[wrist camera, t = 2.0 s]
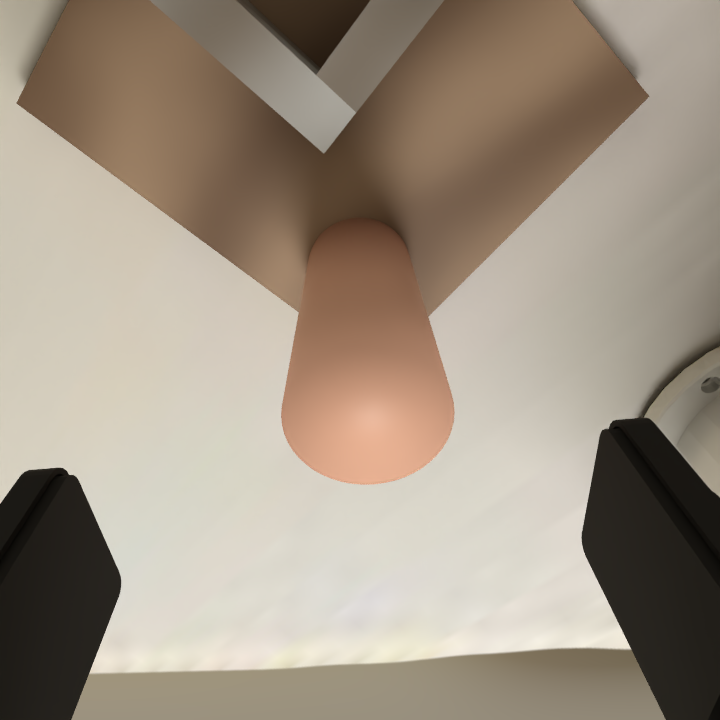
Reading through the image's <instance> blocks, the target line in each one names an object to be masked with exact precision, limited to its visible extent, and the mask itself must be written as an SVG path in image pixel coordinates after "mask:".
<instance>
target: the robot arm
mask: <svg viewBox="0 0 720 720" xmlns="http://www.w3.org/2000/svg"><path fill="white" fill-rule="evenodd" d="M582 545H583V549H584V553H585V555H586V558H587V560H588V562H589V564H590V566H591V568H592V570H593V572H594V574H595V576H596V578H597V580H598V582H599V584H600V586H601V588H602V590H603V592H604V594H605V596H606V598H607V600H608V602H609V604H610V606H611V609H612V611H613V613H614V615H615V617H616V619H617V621H618V623H619V625H620V627H621V629H622V631H623V633H624V635H625V637H626V639H627V641H628V643H629V645H630V647H631V649H632V651H633V653H634V655H635V657H636V660H637V662H638V663H639V666H640V668H641V670H642V672H643V674H644V676H645V678H646V680H647V682H648V684H649V686H650V688H651V690H652V692H653V694H654V696H655V698H656V700H657V702H658V704H659V706H660V709H661V711H662V712H663V715H664V717H665V719H666V720H720V346H719V347H718V348H716V349H714V350H712V351H710V352H708V353H707V354H705V355H704V356H703V357H701V358H700V359H698V360H697V361H695V362H694V363H693V364H691V365H690V366H688V367H687V368H686V369H684V370H683V371H682V372H681V373H680V374H679V375H678V376H677V377H676V378H675V379H674V380H673V381H672V382H670V383H669V384H668V385H667V386H666V387H665V388H664V389H663V391H662V392H661V393H660V394H659V396H658V397H657V398H656V400H655V401H654V402H653V403H652V405H651V406H650V407H649V409H648V411H647V412H646V414H645V416H644V418H635V419H623V420H615V421H613V422H612V423H611V424H610V427H609V429H605V430H602V432H601V434H600V438H599V444H598V449H597V454H596V460H595V465H594V471H593V476H592V482H591V487H590V492H589V498H588V503H587V509H586V514H585V520H584V525H583V531H582ZM120 590H121V576H120V573H119V571H118V568H117V566H116V564H115V562H114V559H113V557H112V555H111V553H110V550H109V548H108V546H107V544H106V541H105V539H104V537H103V535H102V532H101V530H100V528H99V526H98V523H97V521H96V519H95V516H94V514H93V512H92V510H91V507H90V505H89V503H88V501H87V498H86V496H85V494H84V492H83V489H82V487H81V485H80V483H79V480H78V479H77V477H75V476H74V475H69V474H68V472H67V471H66V470H65V469H63V468H50V469H38V470H28V471H26V472H24V473H23V474H22V475H21V476H20V477H19V479H18V480H17V481H16V483H15V484H14V486H13V487H12V488H11V490H10V491H9V493H8V494H7V495H6V497H5V498H4V500H3V501H2V502H1V504H0V720H71V719H72V716H73V714H74V711H75V708H76V706H77V703H78V701H79V698H80V695H81V693H82V690H83V688H84V685H85V683H86V680H87V677H88V675H89V672H90V670H91V667H92V664H93V662H94V659H95V657H96V654H97V652H98V649H99V646H100V644H101V641H102V639H103V636H104V633H105V631H106V628H107V626H108V623H109V620H110V618H111V615H112V613H113V610H114V608H115V605H116V602H117V600H118V597H119V594H120Z"/></svg>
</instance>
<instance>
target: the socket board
mask: <svg viewBox="0 0 720 720" xmlns="http://www.w3.org/2000/svg"><path fill="white" fill-rule="evenodd" d="M648 97H649V95H648V94H647V93H646V92H645V91H644V89H643V88H642V87H641V86H640V84H639V83H638V82H637V81H636V79H635V78H634V77H633V76H632V74H631V73H630V72H629V71H628V69H627V68H626V67H625V66H624V64H623V63H622V62H621V61H620V60H619V58H618V57H617V56H616V55H615V53H614V52H613V51H612V50H611V48H610V47H609V46H608V45H607V43H606V42H605V41H604V40H603V38H602V37H601V36H600V35H599V33H598V32H597V31H596V30H595V28H594V27H593V26H592V25H591V24H590V22H589V21H588V20H587V19H586V17H585V16H584V15H583V14H582V12H581V11H580V10H579V9H578V7H577V6H576V5H575V4H574V2H573V1H572V0H69V1H68V3H67V5H66V7H65V9H64V11H63V13H62V15H61V17H60V19H59V21H58V23H57V25H56V27H55V29H54V31H53V32H52V34H51V36H50V38H49V40H48V42H47V44H46V46H45V48H44V50H43V52H42V54H41V56H40V58H39V60H38V62H37V64H36V66H35V68H34V70H33V72H32V74H31V76H30V78H29V80H28V82H27V84H26V86H25V87H24V89H23V91H22V93H21V95H20V97H19V99H18V101H17V104H18V105H19V106H21V107H22V108H24V109H25V110H26V111H28V112H29V113H30V114H32V115H33V116H34V117H36V118H37V119H38V120H40V121H41V122H42V123H44V124H45V125H47V126H48V127H49V128H51V129H52V130H53V131H55V132H56V133H57V134H59V135H60V136H61V137H63V138H64V139H65V140H67V141H68V142H69V143H71V144H72V145H74V146H75V147H76V148H78V149H79V150H80V151H82V152H83V153H84V154H86V155H87V156H88V157H90V158H91V159H92V160H94V161H95V162H97V163H98V164H99V165H101V166H102V167H103V168H105V169H106V170H107V171H109V172H110V173H111V174H113V175H114V176H115V177H117V178H118V179H119V180H121V181H122V182H124V183H125V184H126V185H128V186H129V187H130V188H132V189H133V190H134V191H136V192H137V193H138V194H140V195H141V196H142V197H144V198H145V199H146V200H148V201H149V202H151V203H152V204H153V205H155V206H156V207H157V208H159V209H160V210H161V211H163V212H164V213H165V214H167V215H168V216H169V217H171V218H172V219H174V220H175V221H176V222H178V223H179V224H180V225H182V226H183V227H184V228H186V229H187V230H188V231H190V232H191V233H192V234H194V235H195V236H196V237H198V238H199V239H201V240H202V241H203V242H205V243H206V244H207V245H209V246H210V247H211V248H213V249H214V250H215V251H217V252H218V253H219V254H221V255H222V256H224V257H225V258H226V259H228V260H229V261H230V262H232V263H233V264H234V265H236V266H237V267H238V268H240V269H241V270H242V271H244V272H245V273H246V274H248V275H249V276H251V277H252V278H253V279H255V280H256V281H257V282H259V283H260V284H261V285H263V286H264V287H265V288H267V289H268V290H269V291H271V292H272V293H273V294H275V295H276V296H278V297H279V298H280V299H282V300H283V301H284V302H286V303H287V304H288V305H290V306H291V307H292V308H294V309H295V310H296V311H298V312H299V309H300V304H301V298H302V293H303V287H304V282H305V276H306V271H307V265H308V260H309V255H310V252H311V249H312V247H313V245H314V243H315V241H316V240H317V238H318V237H319V236H320V235H321V234H322V233H323V232H324V231H325V230H326V229H327V228H328V227H330V226H332V225H333V224H335V223H337V222H339V221H342V220H345V219H349V218H370V219H374V220H377V221H380V222H382V223H384V224H386V225H388V226H389V227H391V228H392V229H393V230H394V231H395V232H396V233H397V234H398V235H399V236H400V237H401V238H402V240H403V241H404V243H405V245H406V247H407V250H408V252H409V255H410V259H411V262H412V265H413V269H414V272H415V275H416V279H417V282H418V285H419V288H420V292H421V295H422V298H423V302H424V305H425V308H426V311H427V315H428V316H429V315H430V314H431V313H432V312H433V311H434V310H435V309H436V308H437V307H438V306H439V305H440V304H441V303H442V302H443V301H444V300H445V299H446V298H447V297H448V296H449V295H450V294H451V293H452V292H453V291H454V290H455V289H456V288H457V287H458V286H459V285H460V284H461V283H462V282H463V281H464V280H465V279H466V278H467V277H468V276H469V275H470V274H471V273H472V272H473V271H474V270H475V269H476V268H477V267H479V266H480V265H481V264H482V263H483V262H484V261H485V260H486V259H487V258H488V257H489V256H490V255H491V254H492V253H493V252H494V251H495V250H496V249H497V248H498V247H499V246H500V245H501V244H502V243H503V242H504V241H505V240H506V239H507V238H508V237H509V236H510V235H511V234H512V233H513V232H514V231H515V230H516V229H517V228H518V227H519V226H520V225H521V224H522V223H523V222H524V221H525V220H526V219H527V218H528V217H529V216H530V215H531V214H532V213H533V212H534V211H535V210H536V209H537V208H538V207H539V206H540V205H541V204H542V203H543V202H544V201H545V200H546V199H547V198H548V197H549V196H550V195H551V194H552V193H553V192H554V191H555V190H556V189H557V188H558V187H559V186H560V185H561V184H562V183H563V182H564V181H565V180H566V179H567V178H568V177H569V176H570V175H571V174H572V173H573V172H574V171H575V170H576V169H577V168H578V167H579V166H580V165H581V164H582V163H583V162H584V161H585V160H586V159H587V158H588V157H589V156H590V155H591V154H592V153H593V152H594V151H595V150H596V149H597V148H598V147H599V146H600V145H601V144H602V143H603V142H604V141H605V140H606V139H607V138H608V137H609V136H610V135H611V134H612V133H613V132H614V131H615V130H616V129H617V128H618V127H619V126H620V125H621V124H622V123H623V122H624V121H625V120H626V119H627V118H628V117H629V116H630V115H631V114H632V113H633V112H634V111H635V110H636V109H637V108H638V107H639V106H640V105H641V104H642V103H643V102H644V101H645V100H646V99H647V98H648Z"/></svg>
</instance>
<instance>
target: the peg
mask: <svg viewBox="0 0 720 720" xmlns="http://www.w3.org/2000/svg"><path fill="white" fill-rule="evenodd" d="M281 418H282V426H283V430H284V434H285V436H286V439H287V441H288V443H289V445H290V446H291V448H292V450H293V451H294V452H295V454H296V455H297V456H298V457H299V458H300V459H301V460H302V461H303V462H304V463H305V464H306V465H308V466H309V467H310V468H312V469H313V470H315V471H317V472H318V473H320V474H322V475H324V476H327V477H329V478H332V479H335V480H338V481H341V482H346V483H352V484H379V483H386V482H390V481H394V480H397V479H400V478H403V477H406V476H408V475H410V474H412V473H414V472H416V471H418V470H419V469H421V468H422V467H424V466H425V465H426V464H428V463H429V462H430V461H431V460H432V459H433V458H434V457H435V456H436V455H437V454H438V453H439V452H440V451H441V449H442V448H443V446H444V445H445V443H446V441H447V440H448V438H449V435H450V433H451V430H452V426H453V422H454V402H453V398H452V394H451V391H450V387H449V384H448V381H447V377H446V374H445V371H444V367H443V364H442V361H441V358H440V354H439V351H438V348H437V344H436V341H435V338H434V335H433V331H432V328H431V325H430V321H429V318H428V315H427V311H426V308H425V305H424V302H423V298H422V295H421V292H420V288H419V285H418V282H417V279H416V275H415V272H414V269H413V265H412V262H411V259H410V255H409V252H408V250H407V247H406V245H405V243H404V241H403V240H402V238H401V237H400V236H399V235H398V234H397V233H396V232H395V231H394V230H393V229H392V228H391V227H389V226H388V225H386V224H384V223H382V222H380V221H377V220H374V219H370V218H349V219H345V220H342V221H339V222H337V223H335V224H333V225H332V226H330V227H328V228H327V229H326V230H325V231H324V232H323V233H322V234H321V235H320V236H319V237H318V238H317V240H316V241H315V243H314V245H313V247H312V249H311V252H310V255H309V260H308V265H307V271H306V276H305V282H304V287H303V293H302V298H301V304H300V309H299V315H298V321H297V326H296V332H295V337H294V343H293V348H292V354H291V359H290V365H289V370H288V376H287V381H286V387H285V392H284V398H283V404H282V413H281Z"/></svg>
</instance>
